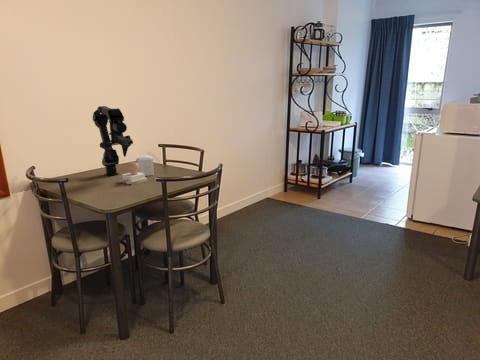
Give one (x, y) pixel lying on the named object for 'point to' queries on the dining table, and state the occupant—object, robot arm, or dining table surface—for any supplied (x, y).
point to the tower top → (133, 176)
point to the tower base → (133, 181)
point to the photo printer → (145, 165)
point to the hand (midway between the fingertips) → (118, 157)
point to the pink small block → (134, 168)
